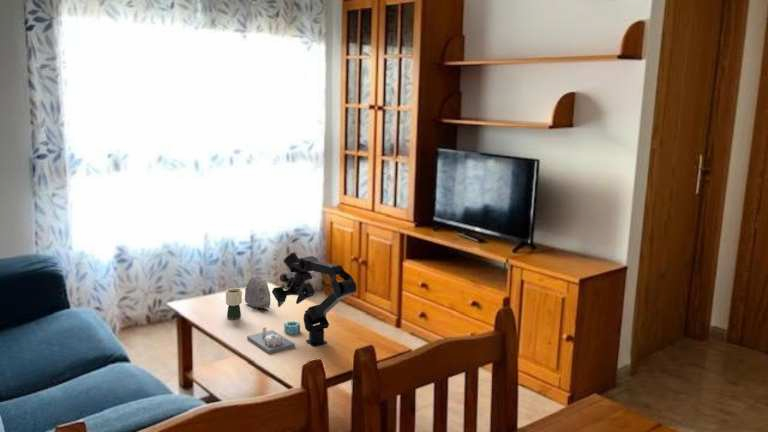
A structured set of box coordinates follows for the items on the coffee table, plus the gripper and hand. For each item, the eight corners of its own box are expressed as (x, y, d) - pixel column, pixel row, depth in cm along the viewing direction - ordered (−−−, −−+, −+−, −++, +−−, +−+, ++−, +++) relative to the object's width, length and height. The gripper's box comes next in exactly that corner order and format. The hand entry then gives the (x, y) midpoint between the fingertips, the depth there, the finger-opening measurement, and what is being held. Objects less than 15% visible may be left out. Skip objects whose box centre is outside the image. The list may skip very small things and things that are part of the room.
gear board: (294, 347, 266) (294, 333, 265) (268, 353, 258) (268, 339, 257) (272, 333, 279) (272, 320, 278) (247, 339, 272) (247, 325, 271)
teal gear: (303, 332, 282) (303, 324, 281) (289, 335, 277) (289, 328, 277) (294, 327, 287) (294, 320, 286) (281, 330, 283) (281, 323, 282)
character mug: (246, 319, 293) (246, 292, 291) (231, 322, 289) (231, 295, 287) (236, 312, 302) (236, 285, 299) (222, 315, 298) (221, 288, 295)
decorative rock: (243, 303, 315) (243, 273, 312) (255, 300, 319) (255, 271, 316) (260, 313, 303) (260, 282, 300) (272, 310, 307) (272, 280, 304)
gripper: (309, 264, 286) (297, 288, 294) (272, 269, 274) (261, 294, 282) (320, 282, 279) (308, 306, 288) (283, 287, 267) (272, 313, 276)
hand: (287, 304), depth 283 cm, fingers open, 9 cm apart
